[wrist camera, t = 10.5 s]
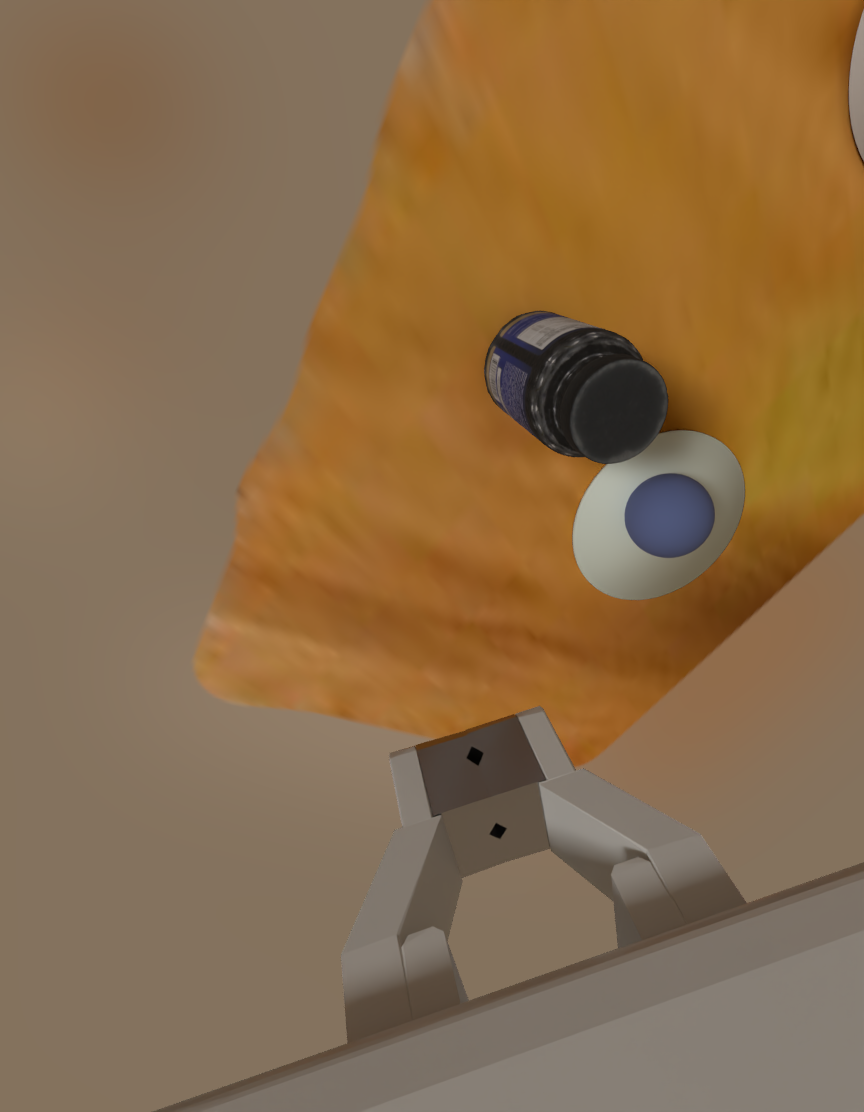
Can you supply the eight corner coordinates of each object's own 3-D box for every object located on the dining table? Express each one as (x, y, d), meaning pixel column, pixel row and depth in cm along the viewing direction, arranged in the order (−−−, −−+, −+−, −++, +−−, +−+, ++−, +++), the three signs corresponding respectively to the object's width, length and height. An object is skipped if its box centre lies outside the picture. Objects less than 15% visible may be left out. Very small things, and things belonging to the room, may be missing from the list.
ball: (717, 470, 37) (645, 530, 37) (745, 532, 40) (678, 588, 40) (658, 446, 41) (595, 499, 42) (688, 503, 44) (628, 553, 44)
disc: (748, 408, 41) (750, 409, 41) (737, 571, 48) (739, 572, 48) (564, 459, 40) (565, 460, 40) (579, 618, 47) (580, 620, 46)
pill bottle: (545, 431, 39) (631, 500, 29) (462, 389, 37) (527, 450, 27) (599, 338, 37) (710, 380, 27) (515, 288, 34) (605, 315, 25)
